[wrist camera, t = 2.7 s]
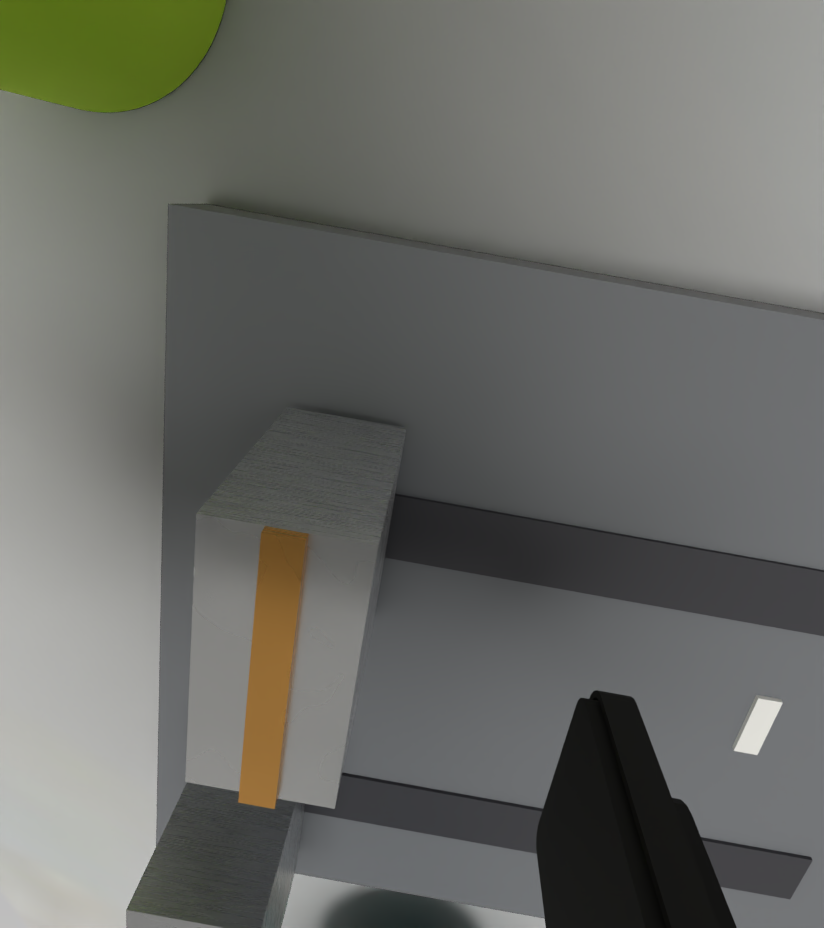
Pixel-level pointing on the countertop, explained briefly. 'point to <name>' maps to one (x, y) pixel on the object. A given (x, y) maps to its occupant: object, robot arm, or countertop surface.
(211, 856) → the fader tab
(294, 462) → the fader tab
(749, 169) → the countertop surface
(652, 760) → the robot arm
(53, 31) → the soap dispenser
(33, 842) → the countertop surface
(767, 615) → the console
